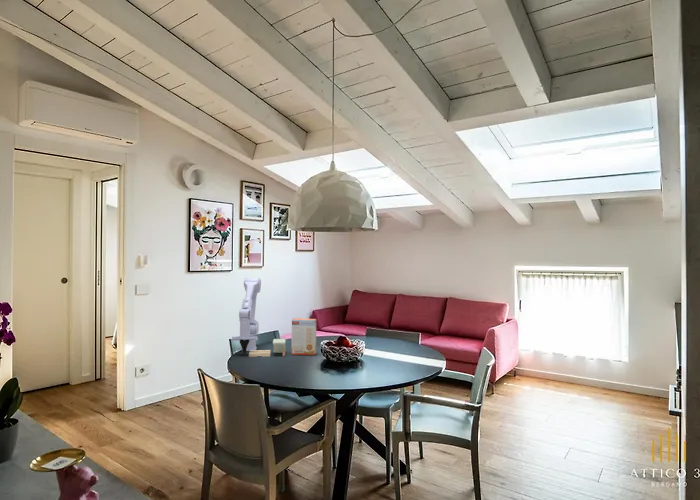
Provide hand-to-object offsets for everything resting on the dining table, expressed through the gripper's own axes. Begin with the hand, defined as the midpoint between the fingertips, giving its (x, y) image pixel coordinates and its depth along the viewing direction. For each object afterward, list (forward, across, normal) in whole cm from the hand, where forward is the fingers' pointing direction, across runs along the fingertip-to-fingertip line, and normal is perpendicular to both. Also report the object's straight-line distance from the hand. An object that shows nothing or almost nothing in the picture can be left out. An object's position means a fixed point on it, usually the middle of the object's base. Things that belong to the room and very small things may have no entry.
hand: (244, 352), depth 253 cm
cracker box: (+1, +34, +2) cm, 34 cm away
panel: (+2, +9, 0) cm, 9 cm away
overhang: (+1, +20, +1) cm, 20 cm away
